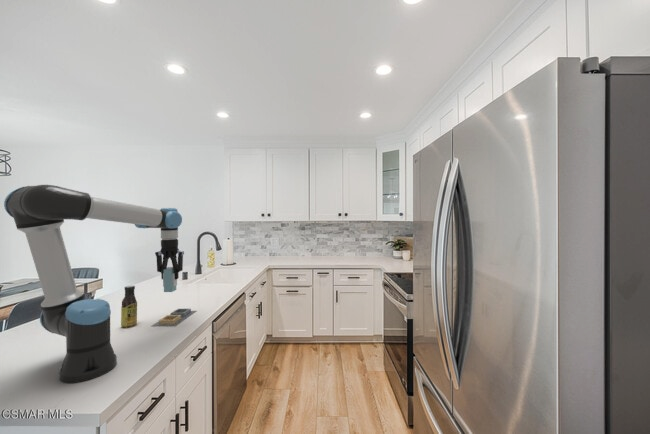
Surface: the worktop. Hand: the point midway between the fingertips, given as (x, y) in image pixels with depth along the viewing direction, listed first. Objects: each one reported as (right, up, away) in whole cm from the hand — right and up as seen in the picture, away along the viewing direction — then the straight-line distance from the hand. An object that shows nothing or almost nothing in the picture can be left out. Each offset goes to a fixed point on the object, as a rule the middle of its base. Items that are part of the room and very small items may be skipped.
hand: (170, 285), depth 139 cm
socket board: (0, -19, +5) cm, 19 cm away
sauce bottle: (-17, -19, -5) cm, 26 cm away
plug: (0, -3, 0) cm, 3 cm away
